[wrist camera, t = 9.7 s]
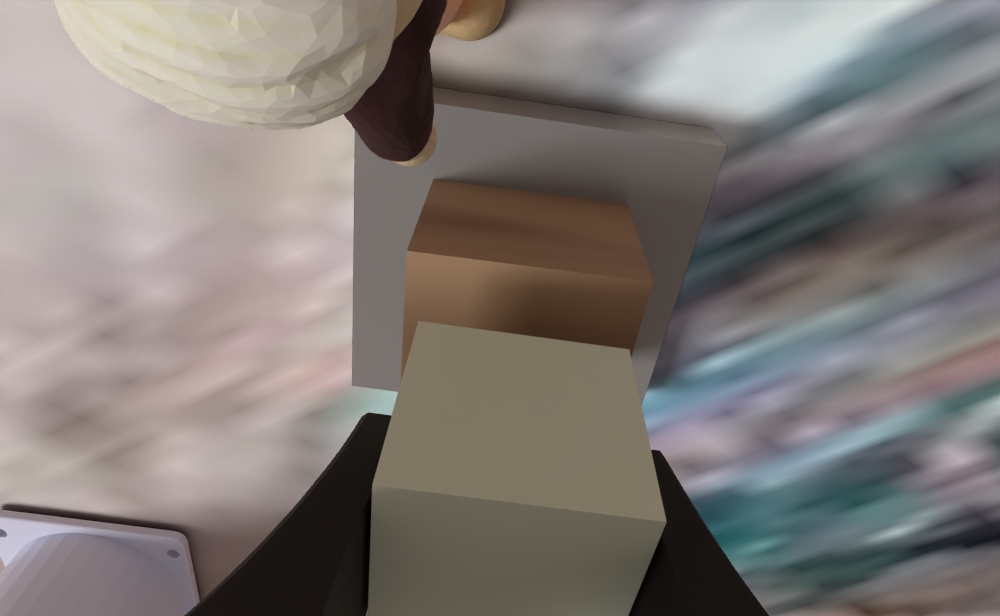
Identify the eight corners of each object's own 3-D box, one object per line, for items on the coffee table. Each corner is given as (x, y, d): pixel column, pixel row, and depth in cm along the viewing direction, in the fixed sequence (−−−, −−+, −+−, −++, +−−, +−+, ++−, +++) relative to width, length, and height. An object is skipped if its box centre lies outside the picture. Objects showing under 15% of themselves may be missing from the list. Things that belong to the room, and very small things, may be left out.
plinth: (629, 392, 21) (635, 422, 20) (362, 356, 21) (351, 385, 20) (712, 128, 17) (727, 146, 15) (369, 77, 16) (355, 91, 15)
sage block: (586, 493, 14) (603, 678, 11) (407, 471, 14) (367, 650, 11) (629, 349, 12) (667, 522, 9) (418, 320, 12) (372, 484, 8)
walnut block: (590, 360, 19) (602, 458, 16) (422, 339, 19) (398, 434, 15) (628, 204, 16) (653, 281, 13) (433, 178, 16) (406, 250, 13)
